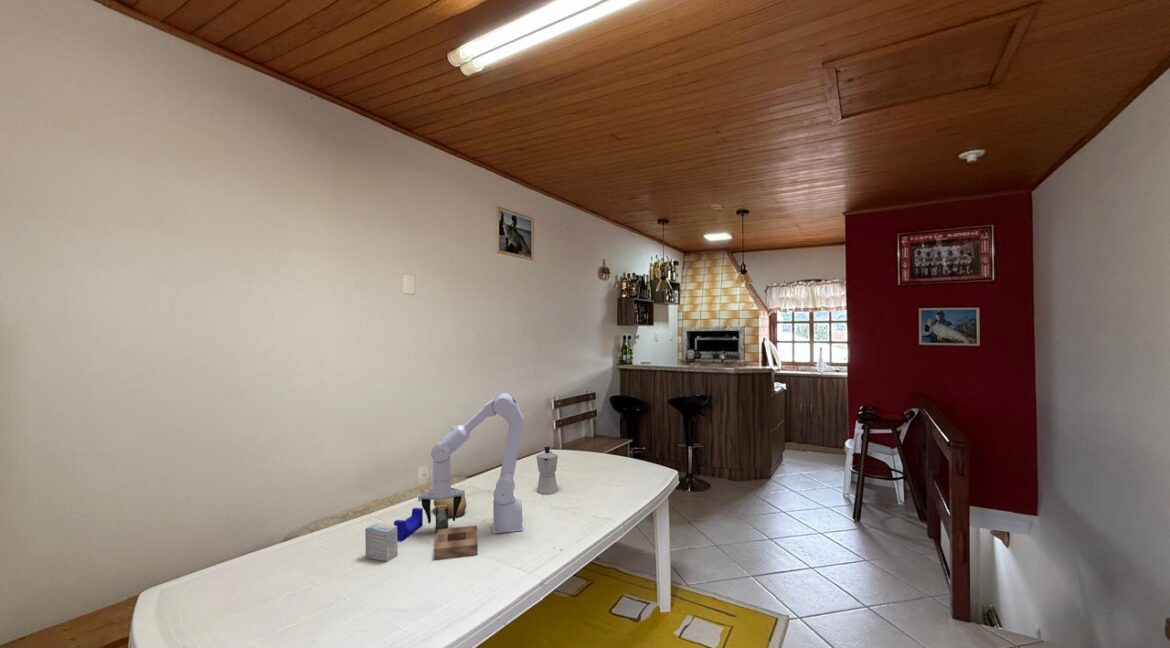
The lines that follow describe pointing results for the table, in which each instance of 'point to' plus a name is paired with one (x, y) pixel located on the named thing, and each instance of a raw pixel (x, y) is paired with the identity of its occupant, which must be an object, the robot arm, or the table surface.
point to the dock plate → (456, 542)
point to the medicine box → (381, 541)
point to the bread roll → (450, 505)
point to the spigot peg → (441, 517)
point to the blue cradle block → (409, 524)
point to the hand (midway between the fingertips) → (441, 521)
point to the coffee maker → (547, 472)
